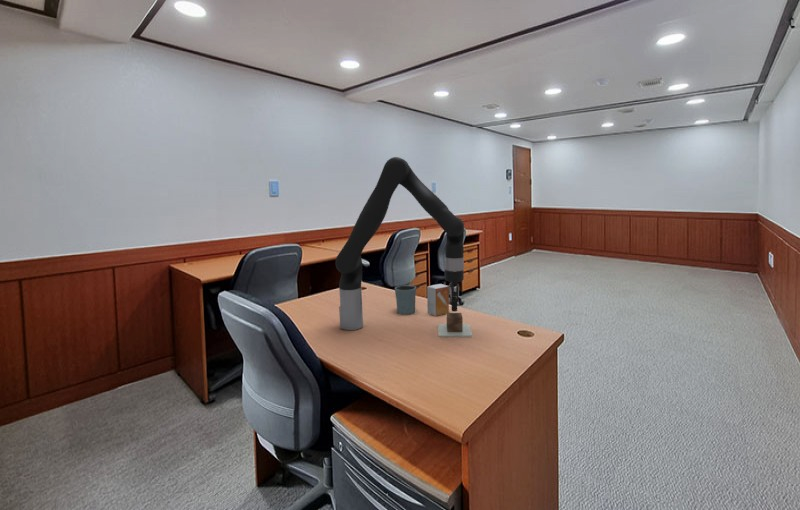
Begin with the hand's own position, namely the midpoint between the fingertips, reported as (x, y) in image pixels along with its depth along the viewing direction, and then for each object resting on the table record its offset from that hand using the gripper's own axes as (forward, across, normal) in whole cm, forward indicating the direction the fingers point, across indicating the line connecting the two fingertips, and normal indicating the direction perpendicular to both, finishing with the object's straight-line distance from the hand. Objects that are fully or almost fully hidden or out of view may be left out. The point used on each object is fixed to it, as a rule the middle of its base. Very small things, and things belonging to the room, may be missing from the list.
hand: (453, 307), depth 152 cm
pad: (+10, 0, 0) cm, 10 cm away
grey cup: (+10, -25, -21) cm, 34 cm away
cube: (+9, 0, 0) cm, 9 cm away
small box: (+10, -23, -6) cm, 26 cm away
